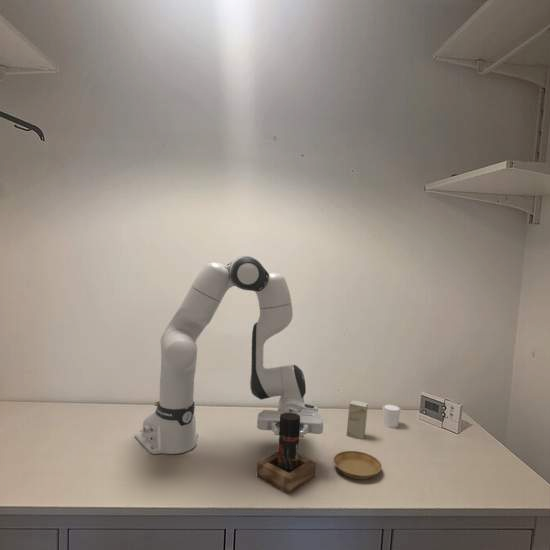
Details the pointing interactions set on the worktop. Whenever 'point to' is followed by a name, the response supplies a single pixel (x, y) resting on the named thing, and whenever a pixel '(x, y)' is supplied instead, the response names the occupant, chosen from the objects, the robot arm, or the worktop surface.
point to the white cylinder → (391, 415)
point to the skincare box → (357, 419)
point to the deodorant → (288, 441)
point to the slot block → (286, 473)
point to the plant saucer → (357, 464)
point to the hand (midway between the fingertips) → (289, 433)
